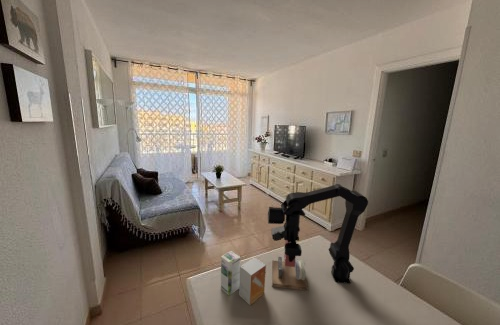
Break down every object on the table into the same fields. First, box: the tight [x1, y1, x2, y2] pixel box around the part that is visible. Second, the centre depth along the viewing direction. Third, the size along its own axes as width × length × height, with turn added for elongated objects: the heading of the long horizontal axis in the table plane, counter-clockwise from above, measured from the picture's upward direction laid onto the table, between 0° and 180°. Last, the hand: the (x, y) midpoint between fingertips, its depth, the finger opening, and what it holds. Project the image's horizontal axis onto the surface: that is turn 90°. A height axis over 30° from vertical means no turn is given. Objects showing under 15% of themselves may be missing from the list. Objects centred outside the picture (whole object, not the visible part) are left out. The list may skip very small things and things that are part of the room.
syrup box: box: [220, 250, 241, 297], centre depth 81 cm, size 6×6×14 cm
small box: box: [238, 257, 267, 306], centre depth 78 cm, size 8×6×13 cm
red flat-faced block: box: [283, 240, 297, 267], centre depth 87 cm, size 4×6×9 cm, turn 174°
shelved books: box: [295, 258, 306, 280], centre depth 88 cm, size 3×7×4 cm, turn 174°
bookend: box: [277, 256, 283, 279], centre depth 89 cm, size 2×8×4 cm, turn 174°
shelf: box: [271, 259, 308, 291], centre depth 89 cm, size 14×14×2 cm
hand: (289, 256), depth 88 cm, fingers closed on red flat-faced block, 6 cm apart
